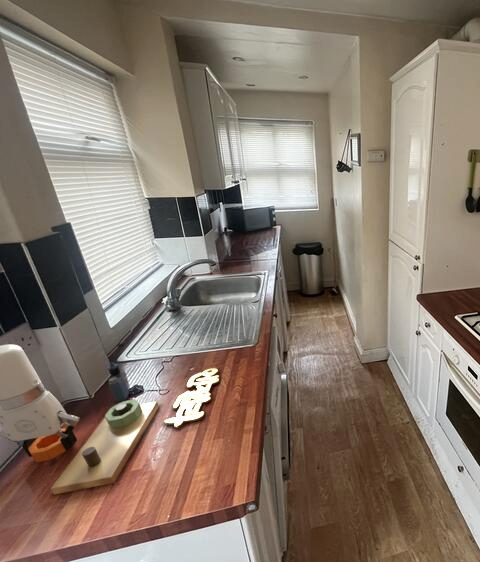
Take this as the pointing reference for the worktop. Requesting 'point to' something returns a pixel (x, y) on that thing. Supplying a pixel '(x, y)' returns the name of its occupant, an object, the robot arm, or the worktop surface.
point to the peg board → (104, 452)
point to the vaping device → (117, 383)
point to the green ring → (124, 419)
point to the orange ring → (46, 447)
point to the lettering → (194, 398)
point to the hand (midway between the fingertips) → (54, 448)
